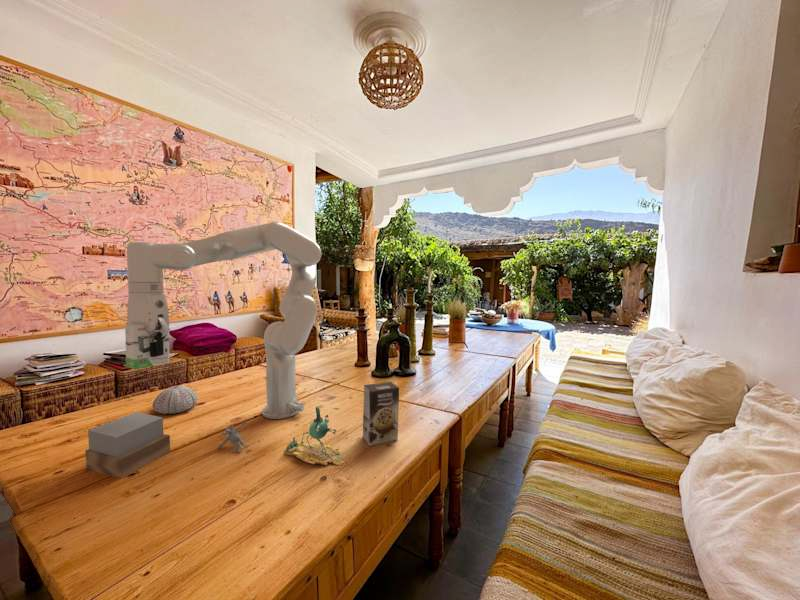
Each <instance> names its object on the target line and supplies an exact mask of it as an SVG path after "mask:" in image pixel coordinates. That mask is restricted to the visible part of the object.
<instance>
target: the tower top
mask: <svg viewBox="0 0 800 600" xmlns="http://www.w3.org/2000/svg"><path fill="white" fill-rule="evenodd" d="M87 436H88V437H87V438H88V449H89V450H91V451H95V452H98V453H102V454H106V455H110V456H113V457H117V458H118V457H120V456H123V455H125V454H127V453H129V452H131V451H133V450H135V449H137V448H139V447H141V446H143V445H145V444H147V443H149V442H151V441H153V440H156V439H158V438H160V437H162V436H164V418H163V417H162V416H156V415H151V414H148V413H144V412H143V413H141V412H137V411H135V412H132V413H129V414H127V415H125V416H122V417H119V418H117V419H114V420H112V421H109V422H107V423H104V424H101V425H99V426H96V427H94V428H91V429H89V430H87Z"/></svg>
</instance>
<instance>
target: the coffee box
mask: <svg viewBox="0 0 800 600" xmlns="http://www.w3.org/2000/svg"><path fill="white" fill-rule="evenodd" d="M399 402H400V387H398V386H397V385H396V384H394V383H393V382H392V381H387V382H386V381H385V382H378V383H369V384H363V413H362V415H363V417H362V418H363V419H362V437H363V439H364V440H365V442H366V443H367V445H368V446H369V447H371V446H376V445H381V444H385V443H390V441H391V442H394V441H393V440H395V441H398V440H399V438H398V437H399V434H398V433H399V412H400V411H399ZM397 439H398V440H397Z"/></svg>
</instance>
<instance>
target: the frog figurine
mask: <svg viewBox="0 0 800 600" xmlns="http://www.w3.org/2000/svg"><path fill="white" fill-rule="evenodd" d="M315 414H316V416H315V417H316V418H314V419H313V421H312V422H311V423H310V425H309V429H308V431H306V432H303V433H302V439H301V441H298V440H295V439H296V438H295V436H293V438H292V439H293V440H291V442H288V445H287V446H286V448H285V450H283V452H284V454H285V455H286V456H296V458H297V459H300V460H301V461H303V462H306V463H308V464H312V465H315V464H318V465H326V466H327V465H328V463H329V464H334V465H336V466H342V464H344V463H345V460H344V458H342V456H341V453H340V451H339V450H337V449H336V448H335V447H334V445H327V444H324V443H323V442H322V441H321V440H320V439H322V438H324V437H325V436H326V435H327V434H328V432H330V433H333V435H335V434H336V433H337V430H336V429H335V428H334V429H331V427H328V426H329V425H328V423H329V422H330V421H329V415H328V414H326V415H325V417H324V418H325V419H323V417H322V416H321V410H320V407H319V406H318V405H317V406H315ZM306 434H308V436H307V437H306V439H305V440H306V441H305V442H304V435H306ZM309 438H310V439H309ZM308 439H309V440H308ZM312 439H314V440H317V441H314V442H313V441H312ZM309 441H312V442H309Z"/></svg>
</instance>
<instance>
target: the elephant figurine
mask: <svg viewBox="0 0 800 600" xmlns="http://www.w3.org/2000/svg"><path fill="white" fill-rule="evenodd" d="M246 423H247V422H246V421H244V422H243V423H241V425H240V426H239V427H238V428H236V429H234V424H231V425H230V426H229V427H226V428H225V429H224V431H223V432H222V433H221V436H224V437H226V436H227V437H226V439H224V440H223V442H222V443H221V444H219V446H218V447H217V449H220V448H222V447H223V446H224V445H225V444H226V443H228V441H229V442H230V443H231V444H232V445H233V446H234V447H235V449H236V450H237V452H238V453H241V452H242V451H243V449H242V448H247V444H246V443H245V442H244V440H242V438H241V437H242V436H241V434H240V433H239V432H240V430H241V429H242V428H243V427H245V425H246ZM239 444H240V445H241V446H240V445H239ZM241 447H242V448H241Z"/></svg>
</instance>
